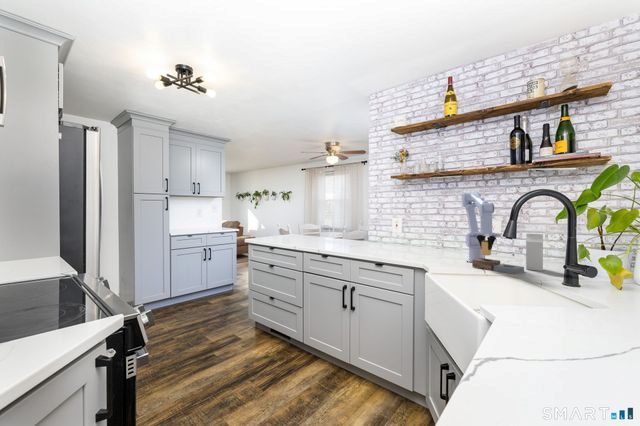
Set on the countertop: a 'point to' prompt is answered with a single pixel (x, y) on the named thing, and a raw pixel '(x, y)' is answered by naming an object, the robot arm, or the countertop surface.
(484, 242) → the plug
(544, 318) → the countertop surface
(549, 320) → the countertop surface
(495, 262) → the upper jack
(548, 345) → the countertop surface
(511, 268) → the lower jack
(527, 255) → the milk carton
